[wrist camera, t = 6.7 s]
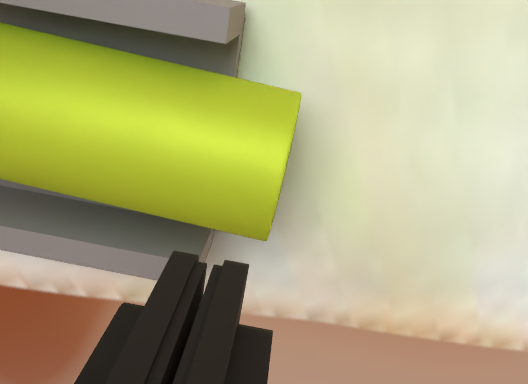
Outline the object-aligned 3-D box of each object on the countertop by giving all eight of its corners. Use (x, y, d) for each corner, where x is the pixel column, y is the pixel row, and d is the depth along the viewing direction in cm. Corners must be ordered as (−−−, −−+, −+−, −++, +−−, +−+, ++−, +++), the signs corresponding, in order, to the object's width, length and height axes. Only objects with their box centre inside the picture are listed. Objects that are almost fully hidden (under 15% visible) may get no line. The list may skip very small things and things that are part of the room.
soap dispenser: (301, 84, 22) (-133, -18, 22) (301, 103, 16) (-314, -41, 16) (272, 204, 24) (-130, 110, 24) (261, 267, 18) (-291, 137, 18)
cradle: (247, 2, 21) (230, 7, 17) (214, 238, 25) (194, 287, 21) (-53, -52, 21) (-142, -60, 17) (-33, 190, 26) (-100, 230, 22)
